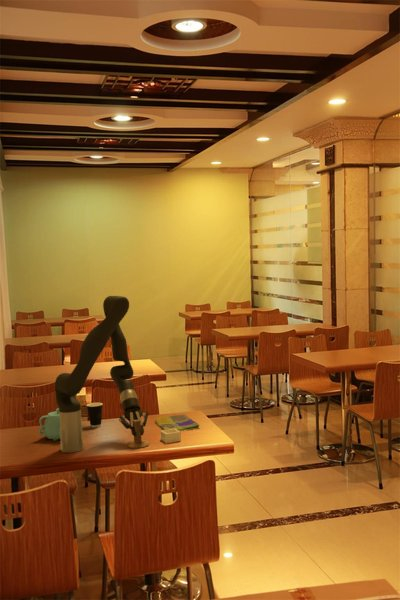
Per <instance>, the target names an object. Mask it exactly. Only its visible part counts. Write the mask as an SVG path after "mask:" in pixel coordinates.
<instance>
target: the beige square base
mask: <svg viewBox="0 0 400 600" xmlns="http://www.w3.org/2000/svg"><path fill="white" fill-rule="evenodd" d="M181 432H182V431H178V430H177V429H168V430H163V429H162V430H160V440H161V441H162V442H164V443H165V444H169V443H175V442H181V441H182V437H181Z"/></svg>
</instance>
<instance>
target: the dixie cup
mask: <svg viewBox="0 0 400 600" xmlns="http://www.w3.org/2000/svg"><path fill="white" fill-rule="evenodd" d="M86 407H87V412H88V413H87V414H88V418H89V424H90V427H91V428H100V427H101V426H102V425H101V424H102V416H103V415H102V414H103V403H102V402H91V403H87V404H86Z"/></svg>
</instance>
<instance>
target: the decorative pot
mask: <svg viewBox="0 0 400 600" xmlns="http://www.w3.org/2000/svg"><path fill="white" fill-rule="evenodd" d="M43 419H45V420H44V423H43V422H42V420H43ZM38 423H39V425H40V429H39V430H38V434H39V435H44V436H45V437H46V438H47V439H48V440H52V441H54V442H57V441H58V440H60V431H59V428H60V417H59V407H58V408H56V409H55V411H51V412H48V414H47V415H42V416H41V417H40V418H39V421H38ZM43 424H44V425H43Z"/></svg>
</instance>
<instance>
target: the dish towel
mask: <svg viewBox="0 0 400 600" xmlns="http://www.w3.org/2000/svg"><path fill="white" fill-rule="evenodd" d="M154 422H155V424H156V425H157V426H158V427H159V428H160V429H162V430H168V429H177V430H178V431H180V432H185V431H184V430H187V431H193V429H195V430H200V424H199V423H197V422H196V421H195V420H193V419H191V418H190V417H189V416H188V415H187V414H184V413H183V414H179V415H178V414H177V415H176V414H175V415H170V416H161V417H158V418H156V419H155V420H154Z"/></svg>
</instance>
